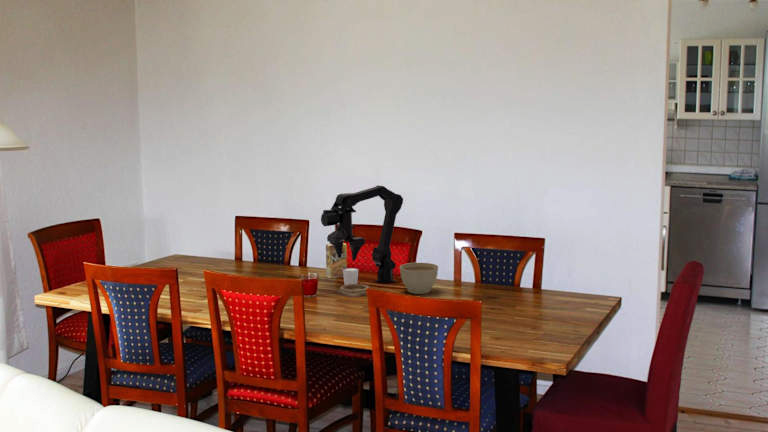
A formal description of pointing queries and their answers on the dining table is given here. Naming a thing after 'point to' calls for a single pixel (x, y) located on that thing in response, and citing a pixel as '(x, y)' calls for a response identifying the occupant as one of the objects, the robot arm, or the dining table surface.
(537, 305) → the dining table surface
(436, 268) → the planter bowl
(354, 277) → the white cup
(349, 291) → the saucer
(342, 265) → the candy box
